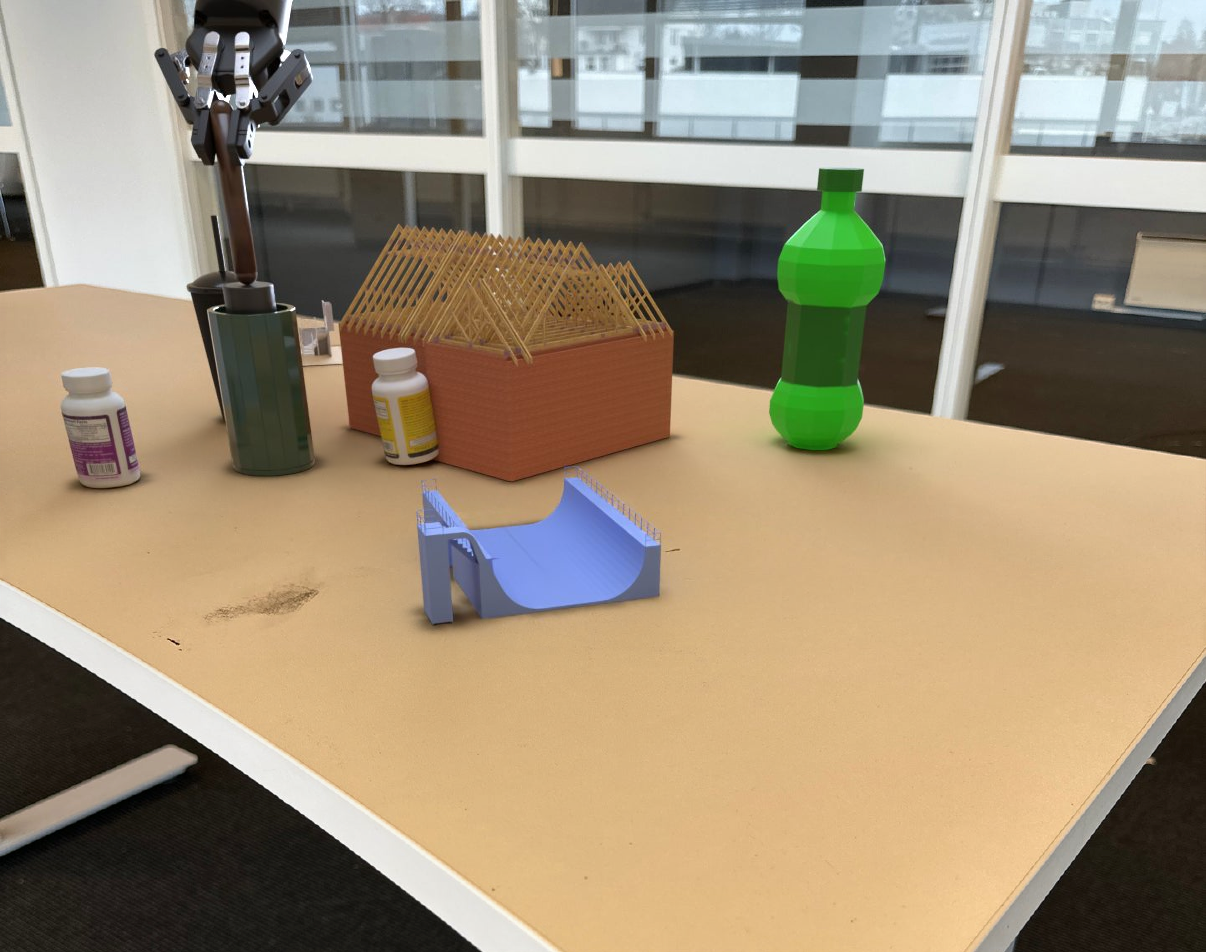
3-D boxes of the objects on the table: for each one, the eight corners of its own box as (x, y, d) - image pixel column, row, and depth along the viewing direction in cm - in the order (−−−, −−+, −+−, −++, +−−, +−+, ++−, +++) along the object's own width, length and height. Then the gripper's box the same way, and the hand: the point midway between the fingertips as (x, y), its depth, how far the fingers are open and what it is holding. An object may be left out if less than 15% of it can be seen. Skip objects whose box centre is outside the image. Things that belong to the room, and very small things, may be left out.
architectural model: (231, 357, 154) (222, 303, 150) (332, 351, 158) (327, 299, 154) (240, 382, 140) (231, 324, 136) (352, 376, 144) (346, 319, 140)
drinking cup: (269, 407, 128) (240, 211, 118) (289, 421, 123) (262, 217, 112) (201, 415, 125) (166, 214, 115) (220, 429, 120) (184, 219, 109)
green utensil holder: (216, 470, 106) (188, 311, 99) (267, 451, 112) (245, 300, 105) (281, 480, 104) (257, 317, 96) (330, 460, 110) (311, 305, 102)
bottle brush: (223, 358, 102) (180, 99, 91) (254, 350, 105) (217, 99, 95) (262, 362, 100) (223, 99, 90) (292, 354, 104) (259, 99, 93)
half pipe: (659, 597, 80) (662, 498, 76) (432, 627, 75) (423, 522, 71) (578, 523, 94) (577, 436, 90) (383, 544, 89) (373, 452, 86)
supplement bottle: (447, 447, 111) (430, 344, 105) (430, 466, 107) (411, 360, 101) (396, 447, 112) (377, 346, 107) (377, 467, 108) (356, 362, 102)
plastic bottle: (752, 432, 120) (773, 166, 107) (848, 431, 121) (880, 166, 108) (774, 457, 112) (799, 171, 99) (876, 455, 113) (914, 171, 100)
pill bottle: (113, 470, 106) (89, 363, 101) (153, 478, 104) (131, 368, 99) (66, 484, 102) (38, 373, 97) (107, 492, 100) (81, 379, 95)
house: (673, 437, 118) (681, 234, 108) (514, 482, 103) (506, 252, 93) (492, 397, 134) (484, 216, 124) (332, 431, 119) (308, 229, 109)
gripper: (149, -53, 93) (117, 120, 89) (311, -53, 92) (286, 122, 88) (186, 28, 100) (158, 191, 97) (337, 28, 100) (315, 193, 96)
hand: (220, 157), depth 93 cm, fingers closed on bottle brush, 2 cm apart
